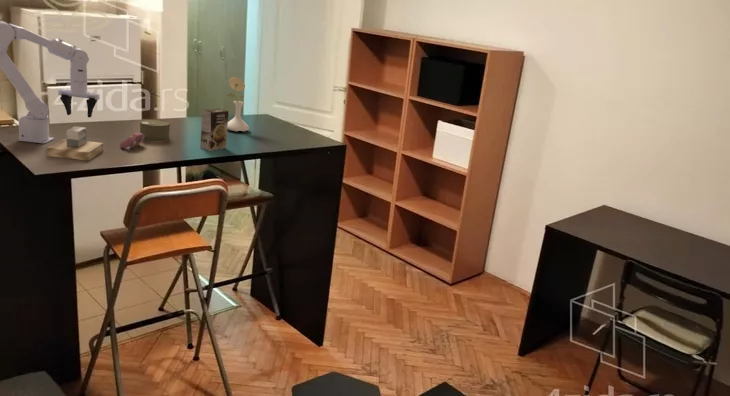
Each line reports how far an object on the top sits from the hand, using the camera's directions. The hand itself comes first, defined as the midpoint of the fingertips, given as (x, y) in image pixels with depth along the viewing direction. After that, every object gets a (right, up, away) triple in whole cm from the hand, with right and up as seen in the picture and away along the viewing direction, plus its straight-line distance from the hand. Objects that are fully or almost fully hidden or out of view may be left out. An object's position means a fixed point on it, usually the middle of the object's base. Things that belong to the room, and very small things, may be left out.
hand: (79, 115), depth 226 cm
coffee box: (+47, -11, +18) cm, 52 cm away
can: (+22, -7, +20) cm, 31 cm away
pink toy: (+19, -12, +4) cm, 23 cm away
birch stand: (+6, -16, -14) cm, 22 cm away
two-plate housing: (+6, -13, -15) cm, 21 cm away
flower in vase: (+49, 0, +53) cm, 72 cm away
